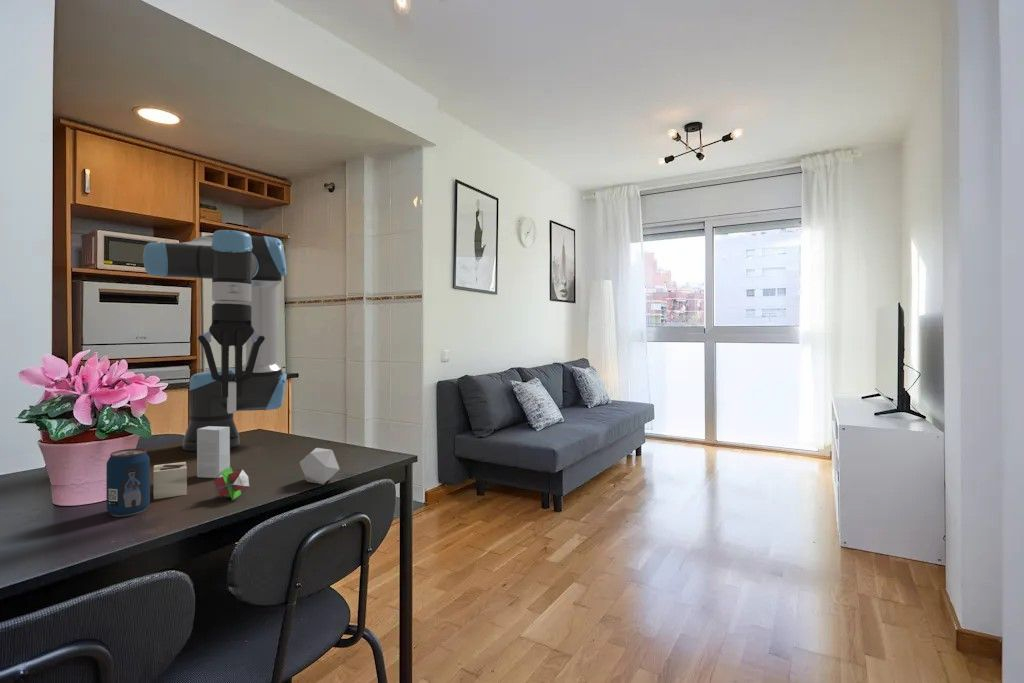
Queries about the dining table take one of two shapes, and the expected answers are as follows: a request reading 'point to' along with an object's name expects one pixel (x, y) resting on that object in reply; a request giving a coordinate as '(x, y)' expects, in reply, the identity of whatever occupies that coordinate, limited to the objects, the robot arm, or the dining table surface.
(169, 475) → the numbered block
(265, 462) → the dining table surface
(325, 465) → the die
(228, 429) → the skincare box
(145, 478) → the soda can
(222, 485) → the geometric puzzle
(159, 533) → the dining table surface
